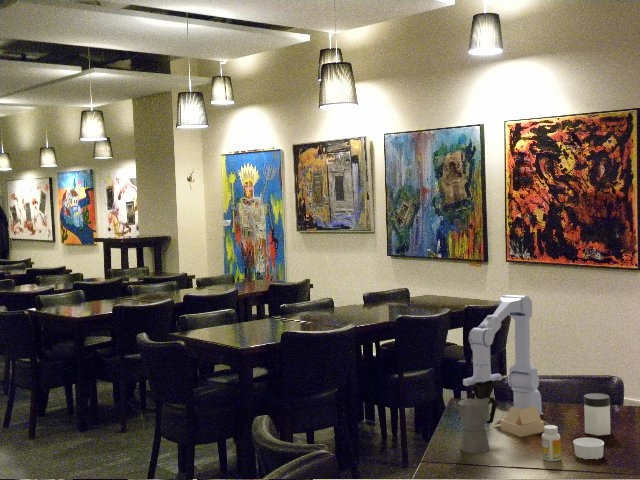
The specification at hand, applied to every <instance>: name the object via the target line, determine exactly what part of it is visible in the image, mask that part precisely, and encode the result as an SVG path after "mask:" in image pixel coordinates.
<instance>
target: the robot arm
mask: <svg viewBox="0 0 640 480" xmlns="http://www.w3.org/2000/svg"><path fill="white" fill-rule="evenodd" d="M498 303H499V304H498V306H497V308H496V310H495V311H494V312H493V314H488V315H487V316H486V317H485V318H484V319H483V321H482V322H481V323H480V324H479V325H478V326H477V327H473V328H472V329H471V330H470V331H469V335H468V342H469V344H470V349H471V351H472V366H473V367H472V368H473V370H472V371H473V372H472V373H473V375H472V376H471V377H467V378H463V379H462V384H463V386H466V387H469V386H470V388H471V389H472V391H473V393H475V398H476V399H483V398H490V397H491V396H492V393H493V390H494V389H495V386H496V383H495V381H502V374H500V373H493V374H492V367H491V364H492V363H491V345H492V344H493V342H494V338H495V336H496V335H495V334H496V333H497V332H498V331H499V330H500V329H501V327H502V321H504V320H505V319H506V318H507V317H508V316H510V317H511V318H512V319H513V320H514V344H515V345H514V349H515V350H514V354H515V355H514V359H515V363H514V364H513V365H511V366H510V367H509V369H508V370H509V371H508V376H507V383H508V386H509V388H511V391H513V407H514V408H517V409H524V408H529V407H534V406H537V409H538V412H539V415H540V416H541V415H544V413H543V412H542V409H543V408H542V394H541V393H540V390H538V388H539V385H540V378H539V373H538V369H537V367H536V366H534V365H533V364H532V363H531V359H530V358H531V349H530V348H531V344H530V343H531V342H530V341H531V339H530V337H531V336H530V335H531V334H530V333H531V331H530V326H531V325H530V323H531V322H530V321H531V320H530V318H532V317H533V300H532V299H531V298H530V296H529V295H516V294H514V295H513V294H506V293H505V294H503V295H501V297H500V298H499V302H498Z"/></svg>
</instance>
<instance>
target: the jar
mask: <svg viewBox="0 0 640 480" xmlns="http://www.w3.org/2000/svg"><path fill="white" fill-rule="evenodd" d="M583 404H584V405H583V406H584V409H583V410H584V411H583V412H584V413H583V414H584V433H585V434H588V435H592V436H608V435H611V396H610V395H608V394H605V393H598V392H597V393H596V392H595V393H593V392H592V393H586V394H584V395H583Z"/></svg>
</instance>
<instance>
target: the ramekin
mask: <svg viewBox="0 0 640 480" xmlns="http://www.w3.org/2000/svg"><path fill="white" fill-rule="evenodd" d="M572 442H573V446H574V447H573V448H574V454H575V455H574V456H576V457H577V458H579V459H581V458H583V459H582V460H587V459H596V460H600V459H602V458H603V456H604V446H605V442H604V441H603V440H602V439H599V438H596V437H579V438H576V439H574V440H573V441H572ZM599 458H600V459H599Z"/></svg>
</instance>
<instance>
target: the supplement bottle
mask: <svg viewBox="0 0 640 480" xmlns="http://www.w3.org/2000/svg"><path fill="white" fill-rule="evenodd" d="M558 429H559V427H558V426H557V425H553V424H549V425H544V432H542V434H541V451H542V453H541V455H542V457H541V458H542V459H543V460H545V461H547V462H558V461H561V459H562V446H561V444H562V443H561V435H560V433H558V432H559V430H558Z"/></svg>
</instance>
